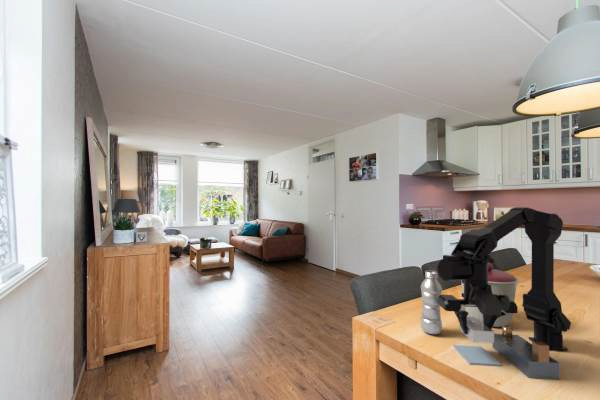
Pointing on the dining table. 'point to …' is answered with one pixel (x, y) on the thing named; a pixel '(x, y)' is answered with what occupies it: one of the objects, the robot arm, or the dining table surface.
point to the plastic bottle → (431, 303)
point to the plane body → (526, 355)
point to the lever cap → (478, 331)
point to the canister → (501, 286)
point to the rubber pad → (476, 355)
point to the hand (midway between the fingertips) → (475, 334)
